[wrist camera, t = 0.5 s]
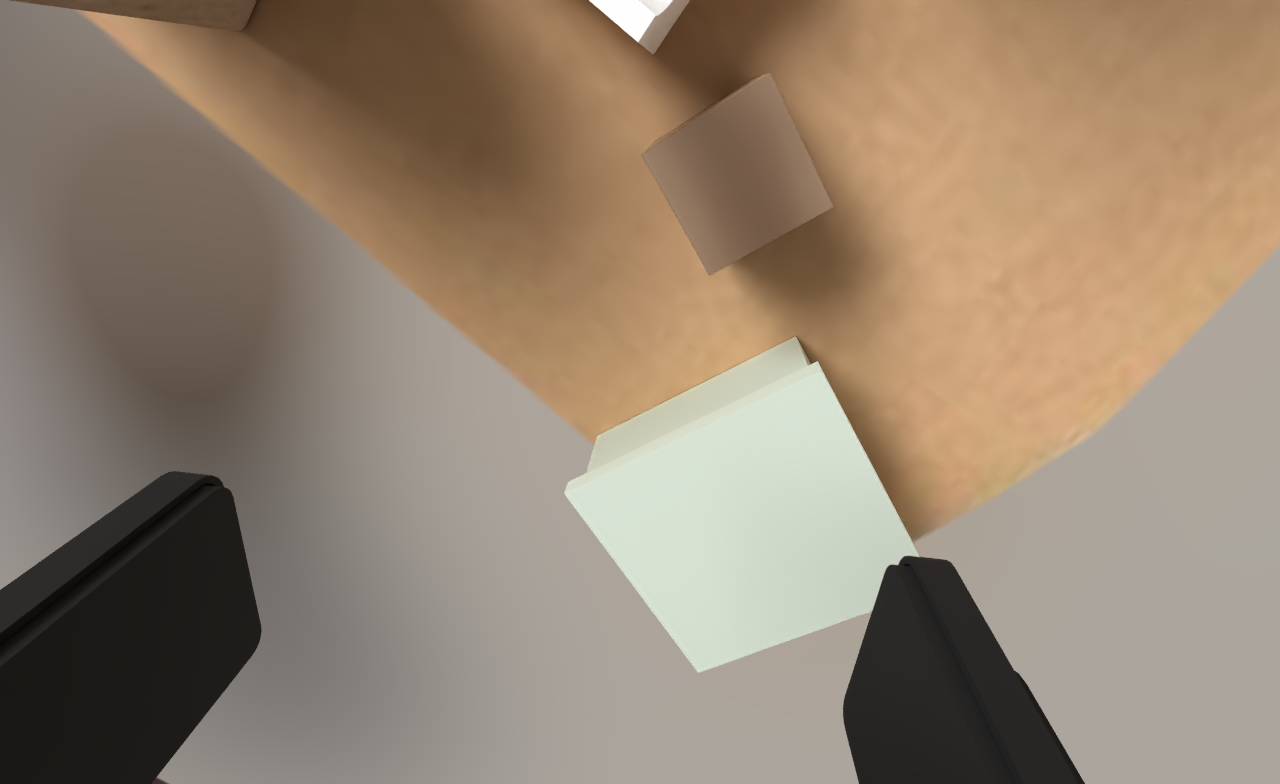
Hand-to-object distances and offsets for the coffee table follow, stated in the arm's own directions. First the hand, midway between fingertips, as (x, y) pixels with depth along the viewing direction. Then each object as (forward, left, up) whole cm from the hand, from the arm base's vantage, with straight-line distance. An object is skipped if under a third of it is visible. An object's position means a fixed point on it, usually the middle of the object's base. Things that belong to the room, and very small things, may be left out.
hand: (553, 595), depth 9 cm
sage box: (+2, +14, -24) cm, 27 cm away
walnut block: (-5, -1, -24) cm, 24 cm away
